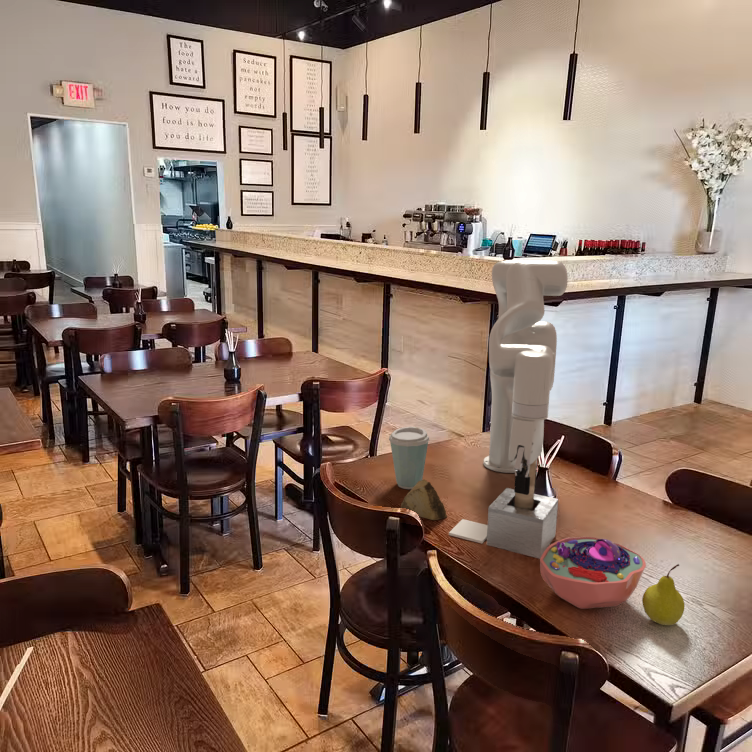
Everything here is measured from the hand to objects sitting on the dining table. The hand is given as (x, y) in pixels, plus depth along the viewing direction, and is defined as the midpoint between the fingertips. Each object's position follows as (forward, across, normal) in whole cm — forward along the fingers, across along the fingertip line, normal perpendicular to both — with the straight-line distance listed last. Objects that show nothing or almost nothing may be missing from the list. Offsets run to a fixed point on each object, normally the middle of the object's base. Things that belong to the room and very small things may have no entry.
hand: (524, 488), depth 144 cm
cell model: (+13, +16, +18) cm, 27 cm away
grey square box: (+12, 0, 0) cm, 12 cm away
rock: (+13, -1, -25) cm, 28 cm away
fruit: (+13, +17, +31) cm, 37 cm away
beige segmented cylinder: (+6, 0, 0) cm, 6 cm away
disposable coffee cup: (+12, -15, -36) cm, 41 cm away
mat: (+12, +2, -11) cm, 17 cm away
